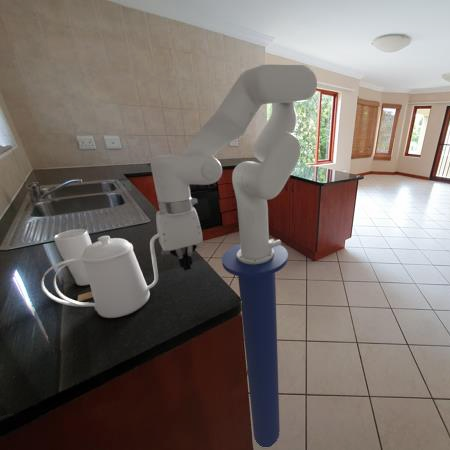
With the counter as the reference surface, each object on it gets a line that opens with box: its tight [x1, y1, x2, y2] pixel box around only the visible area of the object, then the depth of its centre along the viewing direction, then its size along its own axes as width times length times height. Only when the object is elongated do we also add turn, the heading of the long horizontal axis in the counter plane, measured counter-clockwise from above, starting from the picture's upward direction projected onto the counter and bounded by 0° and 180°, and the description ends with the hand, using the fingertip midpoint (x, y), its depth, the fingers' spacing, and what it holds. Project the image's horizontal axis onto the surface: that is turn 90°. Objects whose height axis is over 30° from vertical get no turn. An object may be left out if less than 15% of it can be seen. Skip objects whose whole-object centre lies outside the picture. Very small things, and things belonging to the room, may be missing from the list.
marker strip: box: [77, 291, 94, 302], centre depth 63 cm, size 8×3×1 cm, turn 128°
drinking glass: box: [53, 228, 93, 287], centre depth 65 cm, size 7×7×15 cm
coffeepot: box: [40, 232, 159, 319], centre depth 56 cm, size 11×25×19 cm, turn 126°
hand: (186, 267), depth 67 cm, fingers closed
